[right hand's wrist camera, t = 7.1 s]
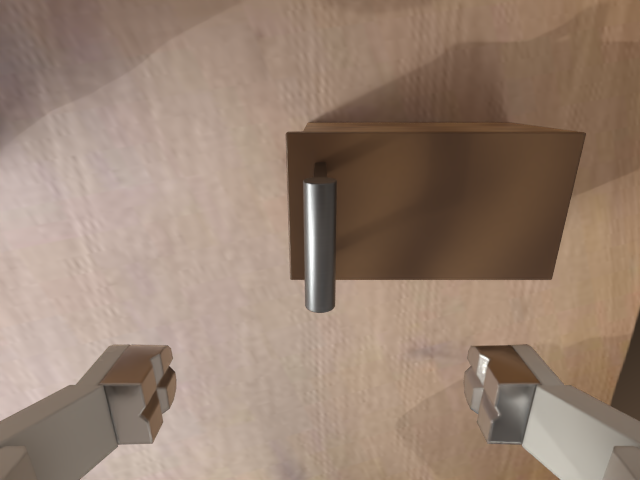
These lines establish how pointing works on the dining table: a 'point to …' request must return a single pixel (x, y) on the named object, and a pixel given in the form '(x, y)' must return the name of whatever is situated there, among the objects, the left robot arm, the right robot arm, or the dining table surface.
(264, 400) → the dining table surface
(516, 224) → the brown panel with handle
